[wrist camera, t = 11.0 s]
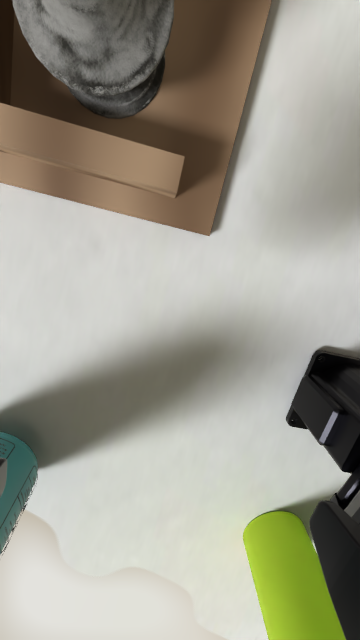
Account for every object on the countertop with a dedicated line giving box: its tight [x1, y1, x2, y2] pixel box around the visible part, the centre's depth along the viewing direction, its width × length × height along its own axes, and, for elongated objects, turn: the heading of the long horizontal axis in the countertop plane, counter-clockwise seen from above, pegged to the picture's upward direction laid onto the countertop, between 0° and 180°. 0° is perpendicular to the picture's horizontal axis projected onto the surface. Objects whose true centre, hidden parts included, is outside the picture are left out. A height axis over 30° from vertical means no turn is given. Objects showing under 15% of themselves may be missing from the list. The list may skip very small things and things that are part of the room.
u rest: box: [0, 0, 272, 236], centre depth 12 cm, size 16×14×4 cm
